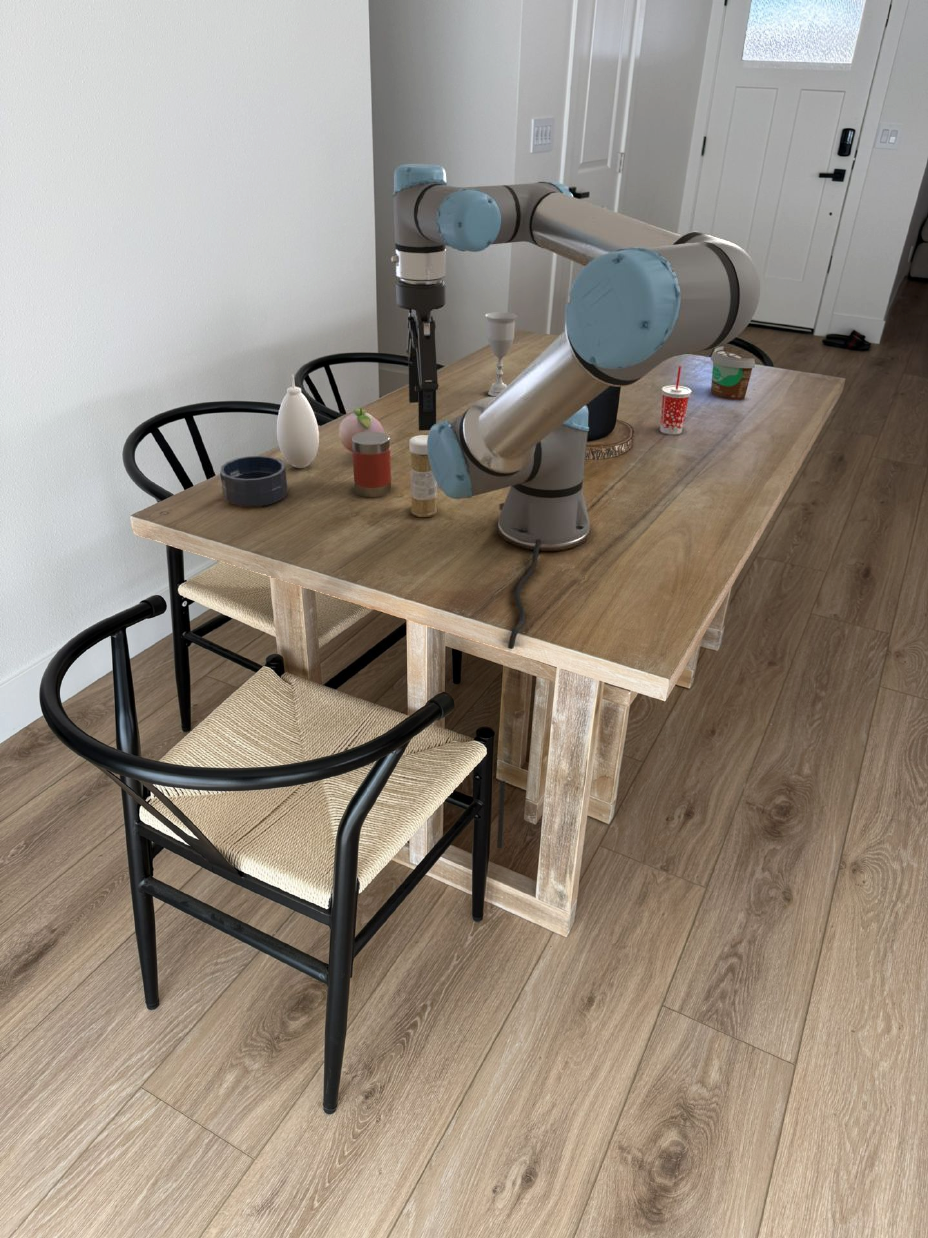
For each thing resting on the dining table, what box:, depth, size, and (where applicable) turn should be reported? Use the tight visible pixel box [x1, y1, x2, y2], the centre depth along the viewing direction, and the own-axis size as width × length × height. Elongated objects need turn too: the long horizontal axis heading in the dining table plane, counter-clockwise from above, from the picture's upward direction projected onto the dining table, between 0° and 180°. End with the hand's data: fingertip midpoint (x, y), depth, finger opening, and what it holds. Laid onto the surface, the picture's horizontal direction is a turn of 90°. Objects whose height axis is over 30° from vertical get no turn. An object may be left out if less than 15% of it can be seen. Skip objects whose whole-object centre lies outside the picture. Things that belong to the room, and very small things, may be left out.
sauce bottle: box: [276, 373, 320, 469], centre depth 166 cm, size 8×8×18 cm
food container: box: [710, 345, 756, 401], centre depth 210 cm, size 12×6×10 cm, turn 25°
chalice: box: [485, 311, 518, 397], centre depth 206 cm, size 7×7×18 cm
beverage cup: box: [659, 365, 692, 435], centre depth 187 cm, size 6×6×14 cm
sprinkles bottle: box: [408, 434, 438, 518], centre depth 150 cm, size 5×5×13 cm
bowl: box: [219, 455, 289, 508], centre depth 158 cm, size 11×11×6 cm
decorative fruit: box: [338, 407, 385, 453], centre depth 173 cm, size 9×8×10 cm
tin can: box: [351, 431, 392, 498], centre depth 159 cm, size 7×7×10 cm
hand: (422, 415), depth 145 cm, fingers open, 13 cm apart
